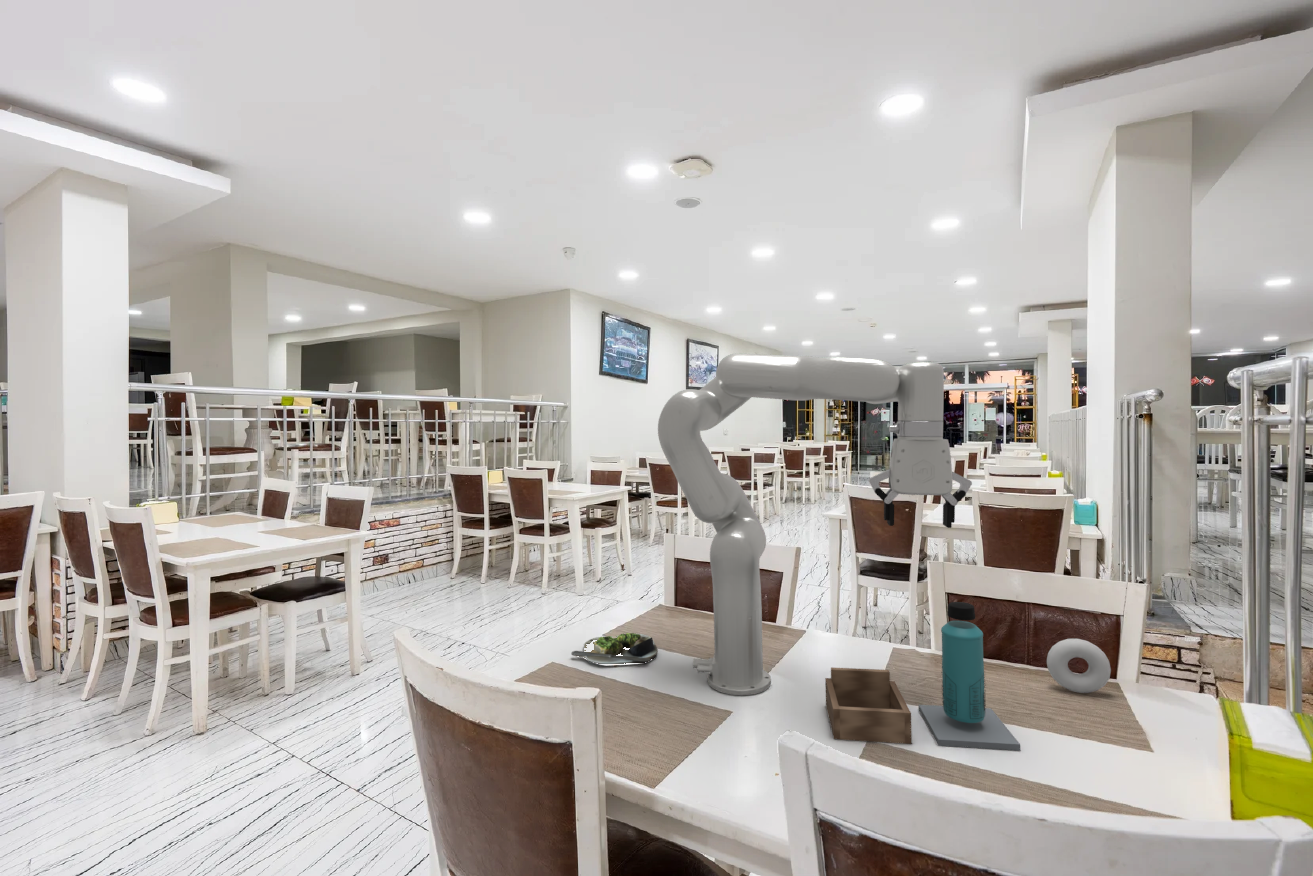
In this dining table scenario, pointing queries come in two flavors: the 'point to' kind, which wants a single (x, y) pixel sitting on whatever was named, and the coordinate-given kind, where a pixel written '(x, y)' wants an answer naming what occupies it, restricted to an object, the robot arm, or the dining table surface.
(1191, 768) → the dining table surface
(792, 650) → the dining table surface
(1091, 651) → the donut
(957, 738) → the slate mat
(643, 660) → the salad plate
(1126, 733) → the dining table surface
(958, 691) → the beverage bottle
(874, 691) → the brown wooden open box
